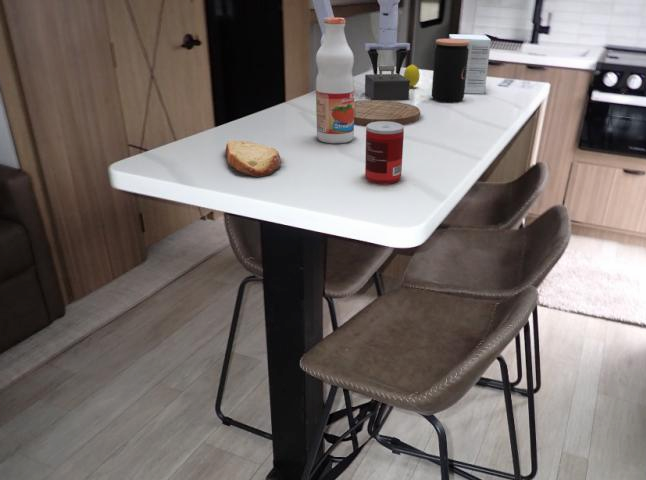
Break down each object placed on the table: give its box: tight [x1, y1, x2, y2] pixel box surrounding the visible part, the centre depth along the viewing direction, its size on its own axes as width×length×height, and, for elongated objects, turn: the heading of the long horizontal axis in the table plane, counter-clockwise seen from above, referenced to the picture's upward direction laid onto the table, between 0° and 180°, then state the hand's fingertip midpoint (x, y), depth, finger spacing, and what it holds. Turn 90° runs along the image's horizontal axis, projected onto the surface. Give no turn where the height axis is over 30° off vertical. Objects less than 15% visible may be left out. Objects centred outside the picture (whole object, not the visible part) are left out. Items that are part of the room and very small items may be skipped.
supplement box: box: [448, 33, 492, 95], centre depth 207 cm, size 13×13×18 cm
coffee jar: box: [431, 38, 469, 104], centre depth 192 cm, size 11×11×18 cm
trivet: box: [354, 99, 421, 127], centre depth 174 cm, size 25×25×2 cm
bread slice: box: [225, 140, 282, 178], centre depth 132 cm, size 18×18×4 cm
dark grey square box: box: [364, 76, 410, 101], centre depth 197 cm, size 12×12×5 cm
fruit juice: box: [315, 16, 355, 144], centre depth 144 cm, size 9×9×28 cm
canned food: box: [364, 121, 405, 185], centre depth 123 cm, size 8×8×11 cm
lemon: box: [403, 63, 421, 89], centre depth 211 cm, size 6×6×8 cm
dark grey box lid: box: [364, 65, 410, 84], centre depth 194 cm, size 12×12×4 cm
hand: (386, 73), depth 195 cm, fingers open, 7 cm apart
